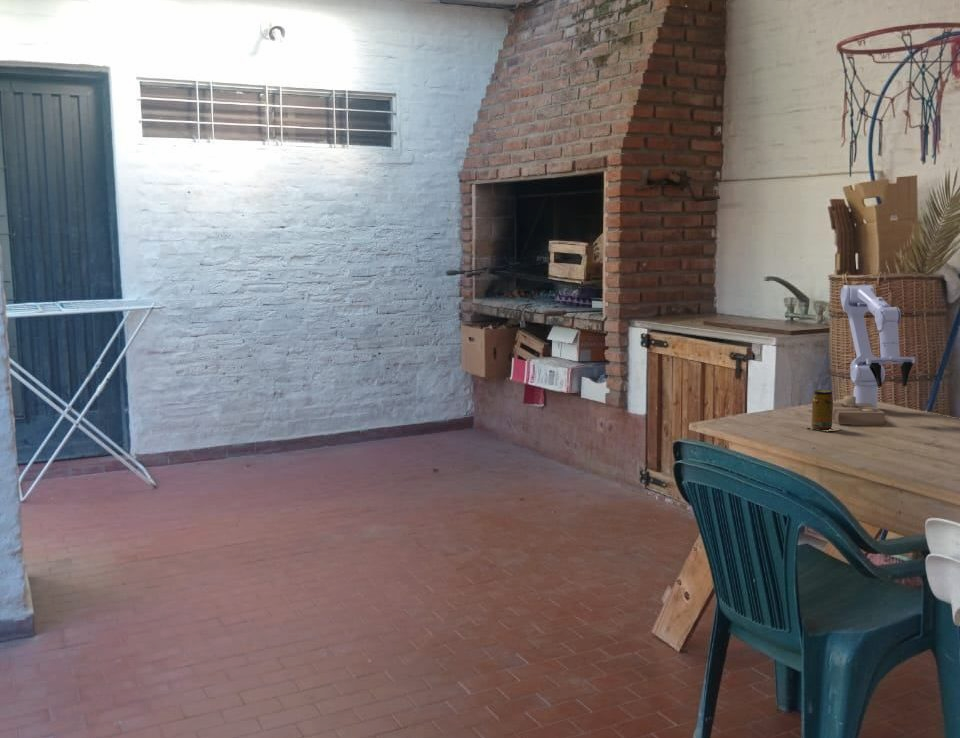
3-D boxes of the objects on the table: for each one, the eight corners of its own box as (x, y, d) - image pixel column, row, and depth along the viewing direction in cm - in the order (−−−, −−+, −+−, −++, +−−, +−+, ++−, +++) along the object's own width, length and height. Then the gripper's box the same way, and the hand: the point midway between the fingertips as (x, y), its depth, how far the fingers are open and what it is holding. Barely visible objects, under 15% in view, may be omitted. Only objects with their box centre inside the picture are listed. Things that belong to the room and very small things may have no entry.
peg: (842, 407, 328) (842, 396, 327) (853, 408, 327) (854, 396, 327) (845, 410, 324) (845, 397, 324) (856, 410, 324) (857, 398, 323)
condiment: (818, 425, 315) (819, 388, 314) (842, 429, 309) (844, 391, 307) (805, 428, 311) (806, 391, 309) (829, 433, 304) (831, 394, 303)
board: (826, 414, 332) (827, 402, 331) (870, 415, 330) (870, 403, 330) (838, 424, 316) (838, 412, 316) (884, 425, 315) (884, 412, 314)
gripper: (869, 343, 317) (872, 385, 315) (917, 341, 315) (919, 384, 314) (863, 346, 324) (866, 387, 322) (910, 344, 322) (912, 386, 321)
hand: (892, 386), depth 319 cm, fingers open, 7 cm apart
